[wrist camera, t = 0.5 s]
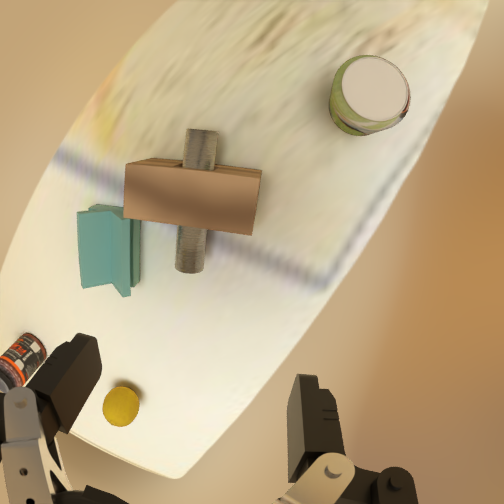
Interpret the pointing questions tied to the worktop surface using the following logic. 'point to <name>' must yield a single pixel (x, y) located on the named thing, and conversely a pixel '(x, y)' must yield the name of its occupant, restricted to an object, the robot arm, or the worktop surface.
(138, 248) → the v block
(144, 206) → the brown wooden block
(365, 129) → the beverage can
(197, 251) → the axle
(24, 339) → the supplement bottle
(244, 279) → the worktop surface
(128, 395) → the lemon
